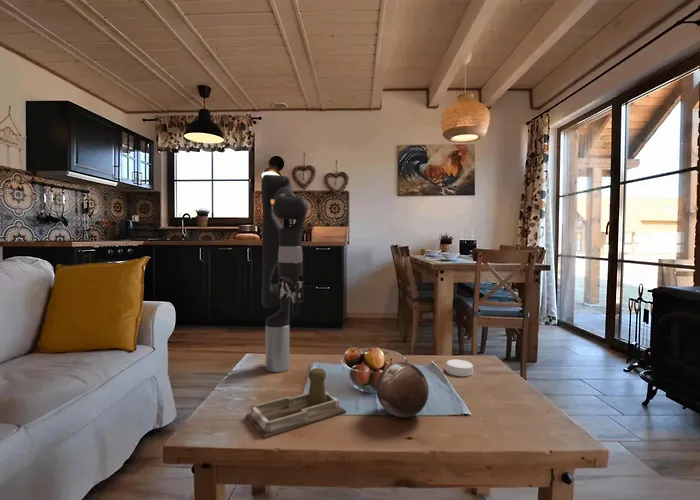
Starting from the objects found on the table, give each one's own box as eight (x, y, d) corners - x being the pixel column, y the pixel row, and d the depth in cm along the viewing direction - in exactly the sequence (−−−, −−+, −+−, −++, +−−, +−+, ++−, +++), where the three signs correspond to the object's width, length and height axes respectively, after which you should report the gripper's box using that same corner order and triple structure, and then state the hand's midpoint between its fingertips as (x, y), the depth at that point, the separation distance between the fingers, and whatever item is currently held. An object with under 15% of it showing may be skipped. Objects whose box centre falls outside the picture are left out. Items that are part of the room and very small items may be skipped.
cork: (303, 407, 108) (303, 371, 108) (313, 399, 114) (313, 364, 113) (321, 411, 106) (321, 374, 106) (330, 403, 111) (330, 367, 111)
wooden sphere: (366, 416, 105) (366, 365, 104) (392, 398, 116) (393, 352, 116) (413, 433, 95) (413, 377, 95) (436, 412, 107) (437, 362, 107)
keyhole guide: (246, 416, 104) (246, 405, 104) (321, 395, 118) (321, 386, 118) (264, 438, 93) (264, 426, 92) (345, 412, 107) (345, 402, 107)
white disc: (476, 377, 136) (476, 367, 136) (450, 377, 135) (450, 367, 135) (467, 367, 146) (467, 359, 146) (442, 367, 145) (443, 359, 145)
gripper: (270, 259, 117) (270, 309, 118) (289, 262, 106) (289, 318, 106) (291, 259, 122) (291, 307, 122) (312, 261, 110) (311, 315, 111)
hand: (290, 312), depth 114 cm, fingers open, 8 cm apart
